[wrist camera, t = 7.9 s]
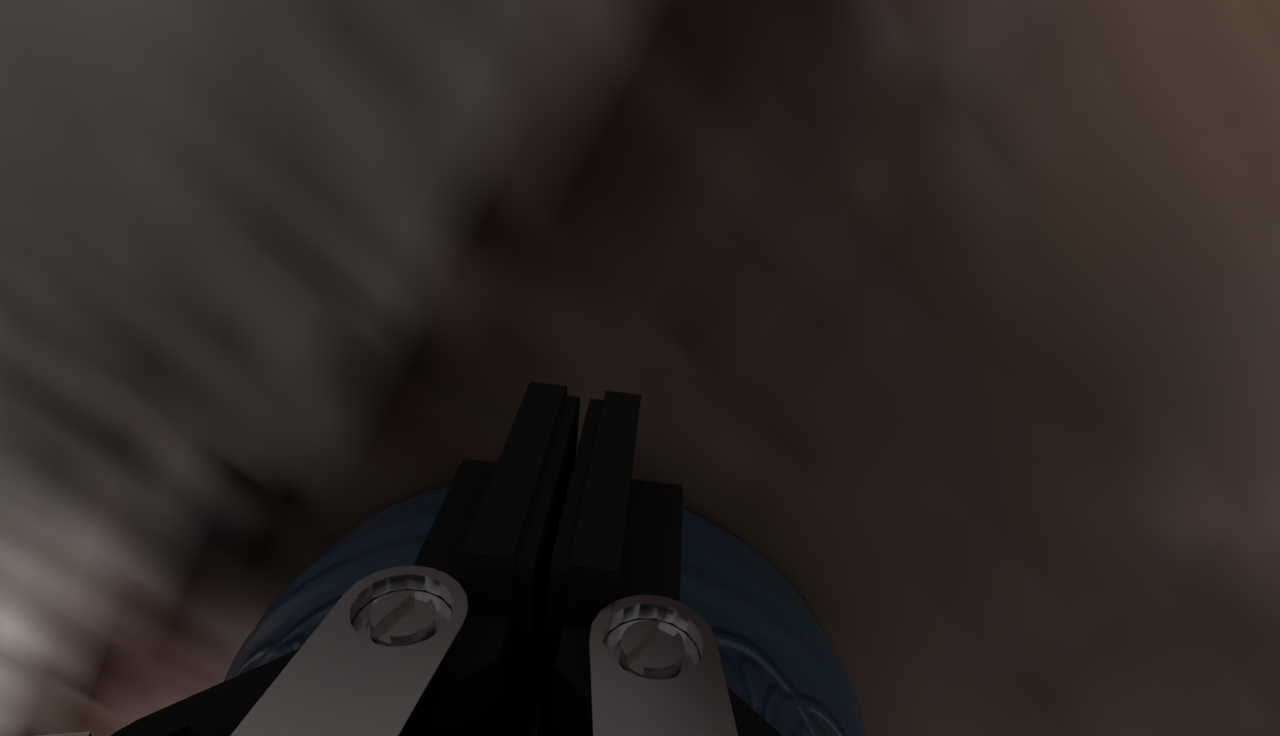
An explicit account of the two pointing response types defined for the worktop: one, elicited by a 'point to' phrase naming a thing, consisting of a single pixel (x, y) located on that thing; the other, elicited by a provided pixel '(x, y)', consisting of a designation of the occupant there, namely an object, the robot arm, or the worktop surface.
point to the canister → (710, 584)
